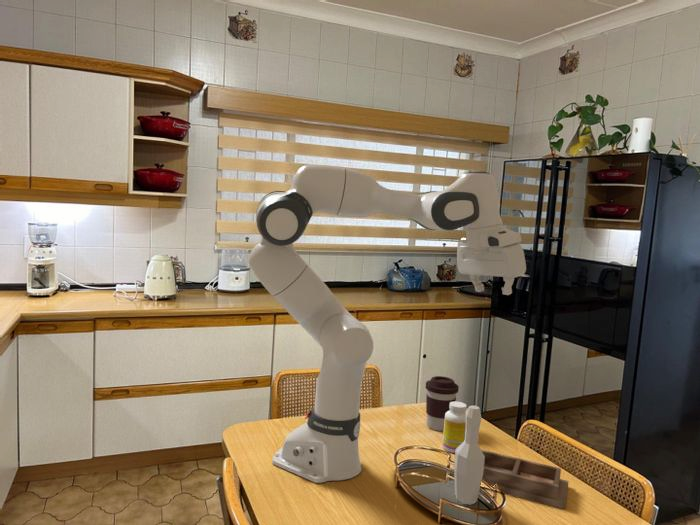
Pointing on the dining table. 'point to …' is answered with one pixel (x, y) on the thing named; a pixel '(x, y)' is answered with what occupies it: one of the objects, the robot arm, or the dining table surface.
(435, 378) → the coffee cup
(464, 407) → the supplement bottle
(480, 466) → the low poly bottle
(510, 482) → the slot rack
